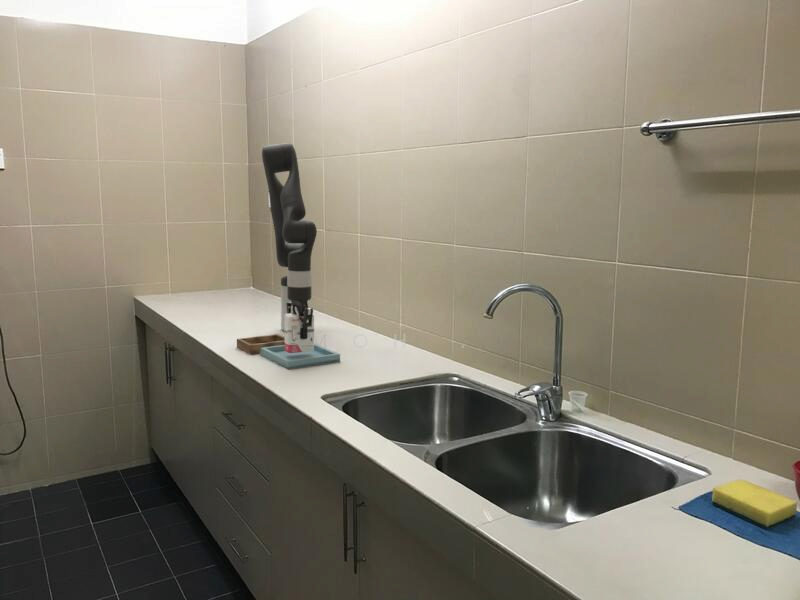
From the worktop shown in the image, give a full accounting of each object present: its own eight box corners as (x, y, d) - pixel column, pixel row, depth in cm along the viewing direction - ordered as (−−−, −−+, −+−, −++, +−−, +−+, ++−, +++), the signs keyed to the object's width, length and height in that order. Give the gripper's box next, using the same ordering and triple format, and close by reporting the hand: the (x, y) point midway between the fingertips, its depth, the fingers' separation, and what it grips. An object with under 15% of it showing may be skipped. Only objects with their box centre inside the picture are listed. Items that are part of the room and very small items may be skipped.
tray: (309, 348, 224) (309, 341, 224) (340, 361, 208) (340, 354, 208) (260, 355, 214) (260, 347, 213) (288, 369, 198) (288, 361, 197)
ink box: (288, 353, 206) (288, 316, 205) (283, 350, 211) (283, 313, 209) (314, 351, 210) (314, 314, 208) (309, 347, 215) (309, 312, 213)
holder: (277, 342, 232) (277, 334, 231) (291, 348, 223) (291, 340, 222) (236, 347, 223) (236, 338, 222) (250, 354, 214) (249, 345, 214)
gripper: (321, 286, 204) (320, 340, 206) (299, 280, 215) (299, 331, 218) (299, 288, 199) (299, 343, 202) (278, 282, 211) (278, 334, 213)
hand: (299, 336), depth 210 cm, fingers closed on ink box, 5 cm apart
